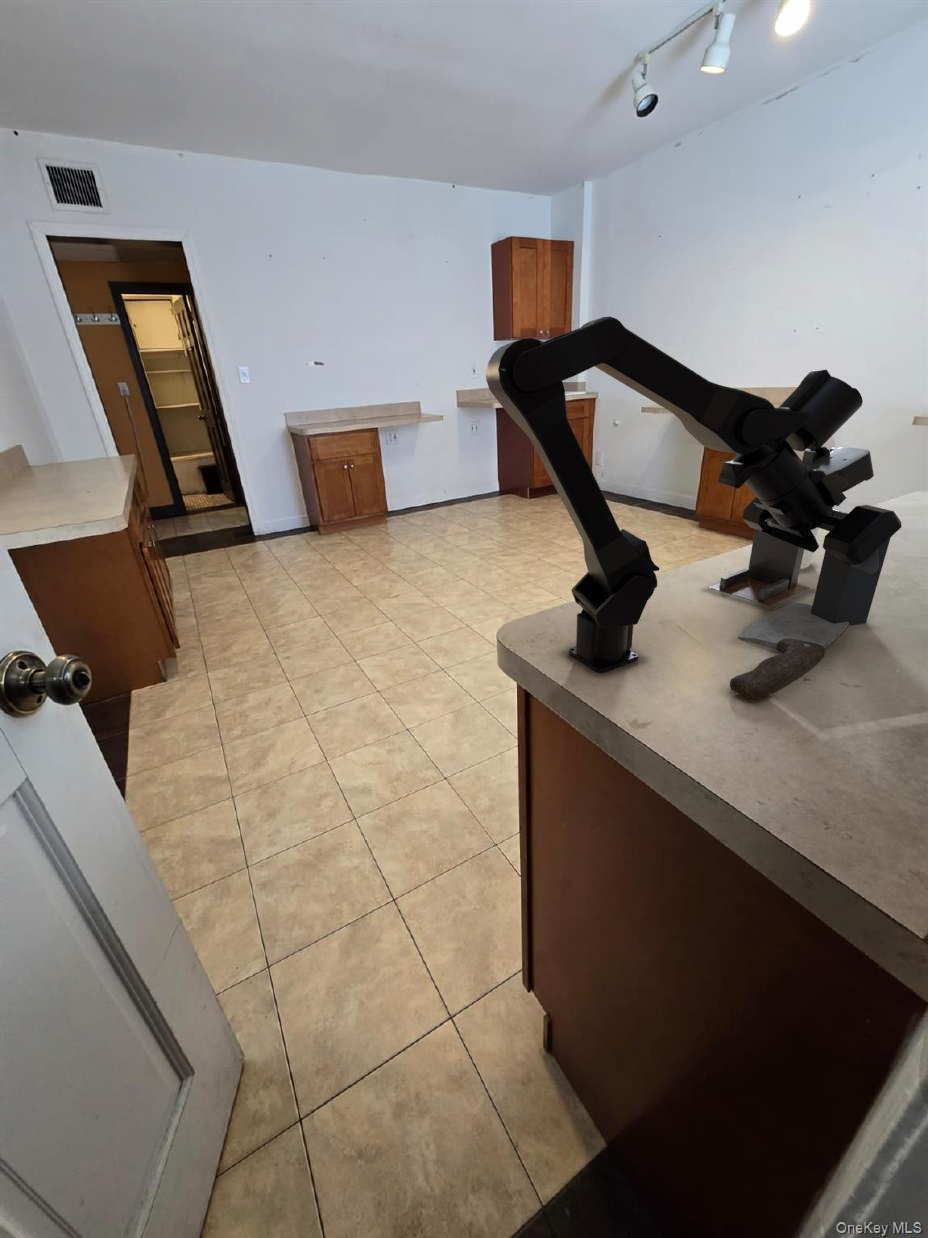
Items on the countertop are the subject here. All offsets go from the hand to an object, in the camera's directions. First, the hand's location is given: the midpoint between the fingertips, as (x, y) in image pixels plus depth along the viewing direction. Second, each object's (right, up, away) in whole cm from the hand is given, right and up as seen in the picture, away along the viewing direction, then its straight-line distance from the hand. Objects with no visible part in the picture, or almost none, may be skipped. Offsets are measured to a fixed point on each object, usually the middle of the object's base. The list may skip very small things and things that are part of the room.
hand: (843, 559), depth 66 cm
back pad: (+2, -8, +4) cm, 9 cm away
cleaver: (-9, -12, -1) cm, 14 cm away
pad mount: (-2, -3, +16) cm, 16 cm away
